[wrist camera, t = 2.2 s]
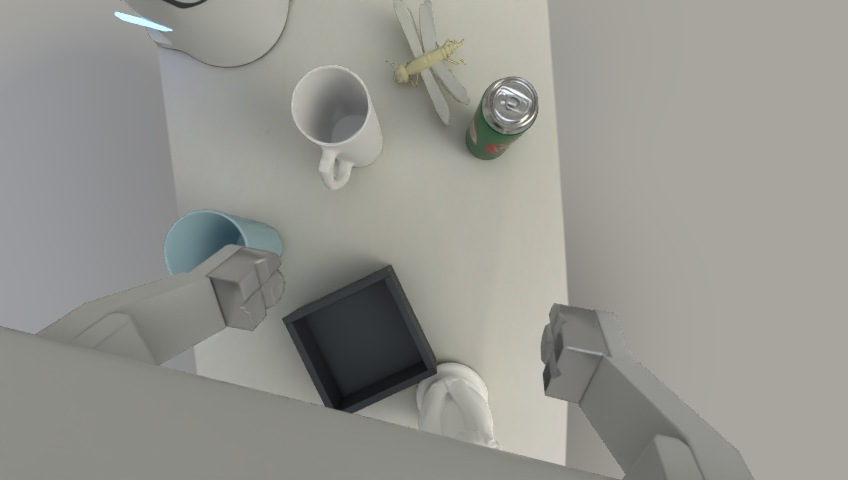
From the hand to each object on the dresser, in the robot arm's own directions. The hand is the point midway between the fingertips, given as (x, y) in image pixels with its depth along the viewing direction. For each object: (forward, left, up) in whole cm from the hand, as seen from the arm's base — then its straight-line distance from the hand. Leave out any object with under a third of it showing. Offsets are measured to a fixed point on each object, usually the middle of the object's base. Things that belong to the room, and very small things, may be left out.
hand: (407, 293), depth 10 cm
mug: (-13, -2, -32) cm, 34 cm away
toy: (-18, +10, -32) cm, 38 cm away
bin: (+7, -10, -31) cm, 34 cm away
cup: (-8, -17, -32) cm, 37 cm away
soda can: (-8, +13, -32) cm, 35 cm away
